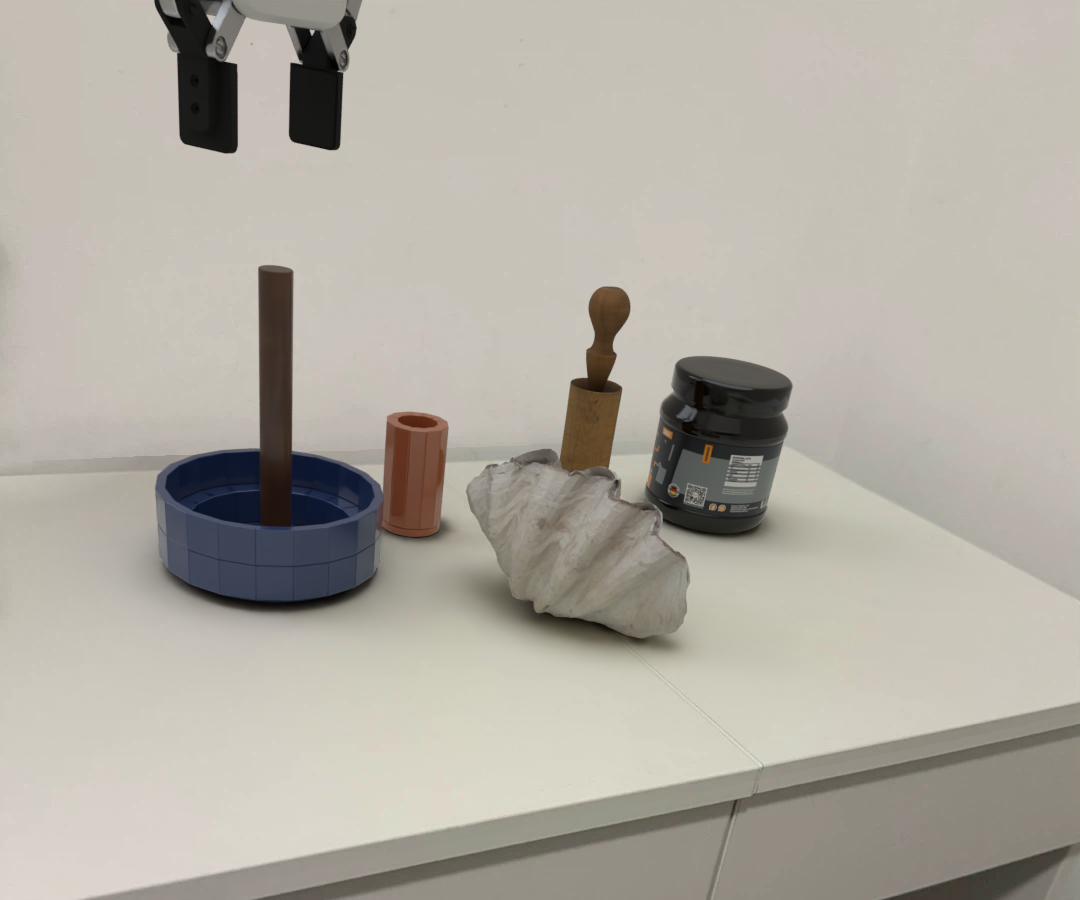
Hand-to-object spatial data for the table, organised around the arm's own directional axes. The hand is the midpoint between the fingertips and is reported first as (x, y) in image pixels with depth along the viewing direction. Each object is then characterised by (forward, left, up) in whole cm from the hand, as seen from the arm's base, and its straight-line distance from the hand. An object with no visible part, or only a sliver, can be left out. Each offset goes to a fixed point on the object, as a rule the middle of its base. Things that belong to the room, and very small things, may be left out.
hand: (265, 147), depth 58 cm
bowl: (0, 0, -25) cm, 25 cm away
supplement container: (+22, +31, -25) cm, 46 cm away
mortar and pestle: (+14, +21, -25) cm, 36 cm away
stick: (+1, 0, -24) cm, 24 cm away
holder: (+4, +12, -25) cm, 28 cm away
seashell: (+19, +6, -25) cm, 32 cm away
